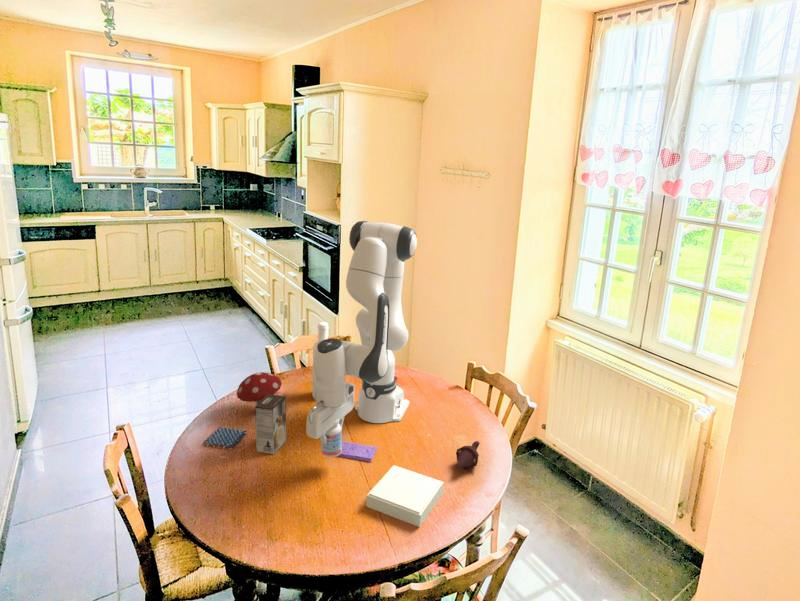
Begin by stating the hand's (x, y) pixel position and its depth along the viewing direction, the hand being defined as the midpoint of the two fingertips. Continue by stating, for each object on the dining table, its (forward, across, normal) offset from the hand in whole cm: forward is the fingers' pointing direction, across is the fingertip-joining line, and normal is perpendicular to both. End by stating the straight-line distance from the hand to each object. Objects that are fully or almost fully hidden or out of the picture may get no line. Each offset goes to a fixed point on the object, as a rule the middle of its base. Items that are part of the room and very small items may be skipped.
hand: (331, 436), depth 151 cm
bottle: (+12, +37, +29) cm, 49 cm away
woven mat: (+11, -5, +38) cm, 40 cm away
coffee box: (+11, 0, +23) cm, 26 cm away
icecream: (+13, +22, -35) cm, 43 cm away
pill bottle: (+6, 0, 0) cm, 6 cm away
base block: (+11, -2, -26) cm, 28 cm away
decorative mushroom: (+11, +15, +41) cm, 45 cm away
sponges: (+12, +10, -2) cm, 16 cm away
